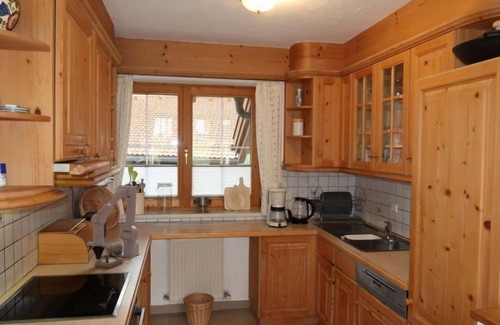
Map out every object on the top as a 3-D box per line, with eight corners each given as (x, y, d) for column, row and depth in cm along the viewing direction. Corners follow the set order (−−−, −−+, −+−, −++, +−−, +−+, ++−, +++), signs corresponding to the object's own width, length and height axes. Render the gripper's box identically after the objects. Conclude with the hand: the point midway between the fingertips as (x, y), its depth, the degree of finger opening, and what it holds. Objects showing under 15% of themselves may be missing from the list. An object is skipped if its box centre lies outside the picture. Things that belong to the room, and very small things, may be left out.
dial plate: (106, 261, 222) (106, 256, 222) (122, 263, 218) (122, 258, 218) (94, 266, 212) (94, 261, 212) (110, 268, 209) (110, 263, 209)
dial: (103, 260, 219) (103, 252, 219) (117, 260, 220) (117, 251, 220) (99, 264, 211) (99, 255, 211) (114, 264, 212) (114, 255, 212)
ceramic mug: (105, 254, 237) (105, 242, 237) (117, 252, 243) (118, 240, 242) (112, 258, 229) (112, 246, 229) (125, 255, 235) (125, 243, 235)
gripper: (83, 235, 212) (83, 259, 213) (104, 238, 207) (104, 262, 208) (92, 233, 219) (92, 256, 219) (112, 235, 214) (112, 259, 214)
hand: (98, 259), depth 214 cm, fingers closed
